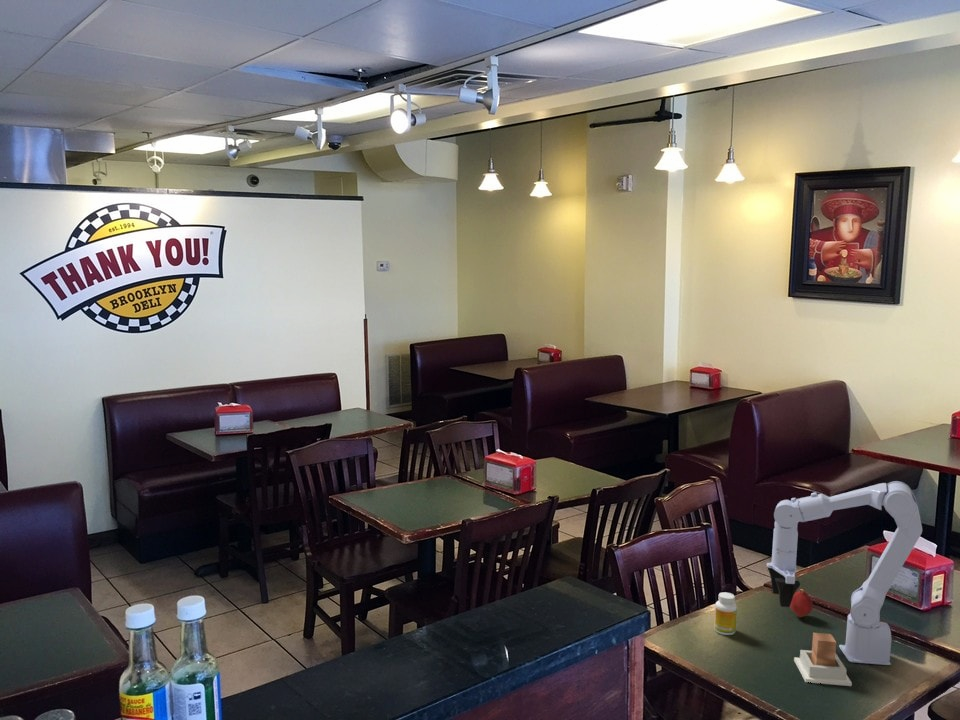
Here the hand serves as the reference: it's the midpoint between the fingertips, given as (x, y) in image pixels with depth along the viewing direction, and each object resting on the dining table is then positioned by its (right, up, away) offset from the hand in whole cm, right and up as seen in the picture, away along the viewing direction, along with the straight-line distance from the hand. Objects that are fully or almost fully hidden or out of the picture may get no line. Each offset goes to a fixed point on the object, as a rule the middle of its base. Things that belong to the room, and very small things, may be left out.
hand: (781, 599), depth 196 cm
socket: (+4, -12, -15) cm, 20 cm away
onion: (+11, -9, +14) cm, 20 cm away
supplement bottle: (-13, -10, +5) cm, 17 cm away
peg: (+4, -12, -15) cm, 20 cm away
